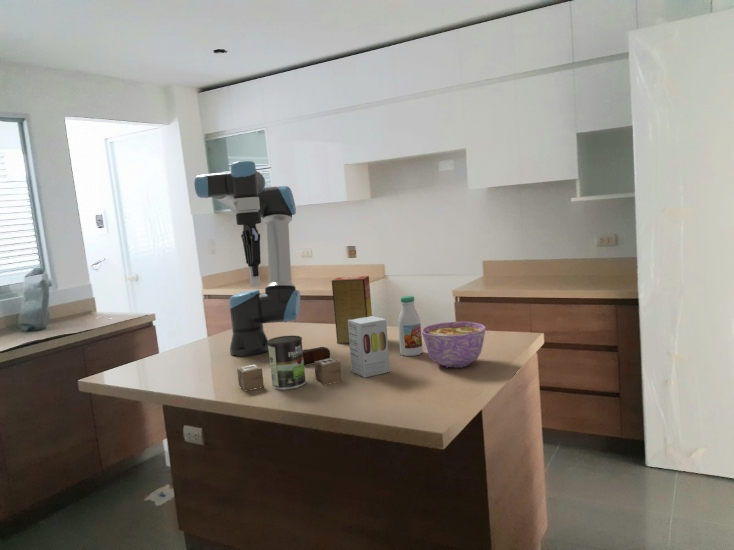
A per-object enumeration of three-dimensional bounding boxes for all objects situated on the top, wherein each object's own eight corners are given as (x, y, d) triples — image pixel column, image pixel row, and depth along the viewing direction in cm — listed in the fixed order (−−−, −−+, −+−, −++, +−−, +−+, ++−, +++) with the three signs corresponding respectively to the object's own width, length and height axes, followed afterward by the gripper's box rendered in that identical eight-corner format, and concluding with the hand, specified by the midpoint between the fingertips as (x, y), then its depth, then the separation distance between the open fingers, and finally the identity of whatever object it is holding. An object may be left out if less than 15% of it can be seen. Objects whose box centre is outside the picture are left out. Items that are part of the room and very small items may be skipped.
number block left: (239, 387, 171) (236, 367, 170) (258, 382, 174) (255, 363, 173) (244, 391, 166) (242, 371, 165) (263, 387, 168) (261, 367, 168)
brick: (302, 366, 188) (300, 353, 188) (298, 364, 192) (296, 350, 191) (330, 360, 193) (329, 347, 193) (326, 358, 197) (325, 345, 196)
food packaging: (374, 337, 222) (369, 275, 219) (369, 343, 213) (364, 278, 210) (342, 338, 225) (337, 277, 223) (336, 343, 216) (330, 280, 214)
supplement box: (363, 378, 169) (359, 323, 167) (350, 371, 177) (346, 319, 175) (391, 371, 173) (386, 318, 171) (377, 365, 181) (372, 315, 179)
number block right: (316, 380, 171) (314, 360, 170) (333, 376, 174) (332, 357, 173) (323, 385, 165) (321, 364, 165) (342, 381, 168) (340, 360, 167)
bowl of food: (438, 354, 189) (436, 320, 188) (496, 357, 179) (494, 322, 178) (413, 371, 172) (410, 334, 171) (475, 376, 162) (473, 337, 161)
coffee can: (312, 381, 170) (308, 336, 169) (291, 391, 162) (286, 344, 160) (287, 378, 176) (282, 334, 174) (264, 388, 167) (260, 342, 166)
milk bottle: (397, 356, 190) (392, 298, 188) (404, 350, 198) (400, 295, 195) (419, 357, 188) (414, 298, 185) (425, 351, 195) (421, 294, 192)
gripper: (230, 213, 178) (238, 286, 180) (241, 211, 166) (250, 289, 169) (253, 211, 181) (261, 283, 184) (265, 210, 170) (273, 286, 172)
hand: (255, 286), depth 176 cm, fingers closed
